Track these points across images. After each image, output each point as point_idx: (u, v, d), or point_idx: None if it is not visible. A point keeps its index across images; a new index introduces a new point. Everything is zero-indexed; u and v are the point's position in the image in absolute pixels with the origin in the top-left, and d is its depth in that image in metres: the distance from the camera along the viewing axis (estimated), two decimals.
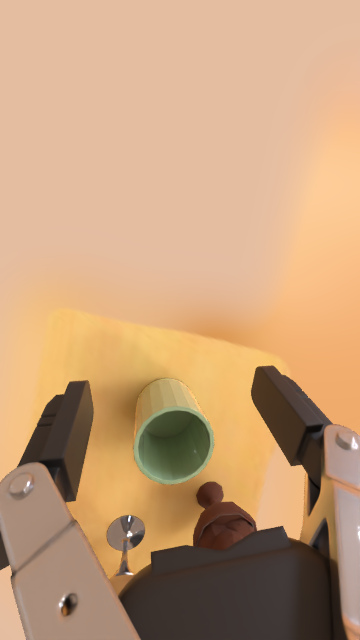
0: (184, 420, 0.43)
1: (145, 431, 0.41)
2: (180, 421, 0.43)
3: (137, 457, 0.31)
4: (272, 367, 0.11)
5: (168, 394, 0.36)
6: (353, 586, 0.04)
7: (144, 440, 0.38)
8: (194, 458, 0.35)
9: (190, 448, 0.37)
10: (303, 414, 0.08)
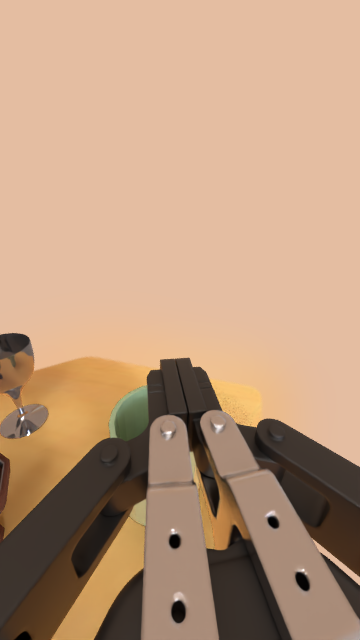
0: None
1: None
2: None
3: None
4: (187, 359, 0.11)
5: None
6: (287, 596, 0.04)
7: (143, 424, 0.34)
8: None
9: None
10: (192, 402, 0.09)
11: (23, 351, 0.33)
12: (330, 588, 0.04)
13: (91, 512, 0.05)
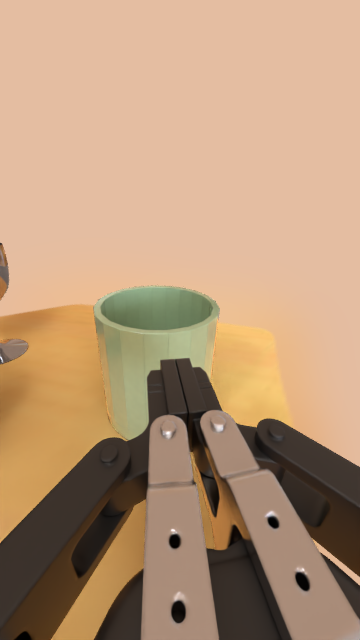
0: None
1: None
2: None
3: (153, 286, 0.26)
4: (187, 359, 0.11)
5: None
6: (287, 596, 0.04)
7: None
8: None
9: None
10: (192, 402, 0.09)
11: None
12: (330, 588, 0.04)
13: (91, 512, 0.05)
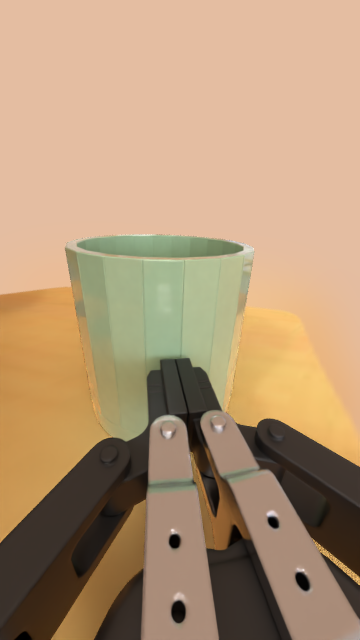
0: None
1: None
2: None
3: None
4: (187, 359, 0.11)
5: None
6: (288, 596, 0.04)
7: None
8: None
9: None
10: (192, 402, 0.09)
11: None
12: (330, 588, 0.04)
13: (91, 512, 0.05)
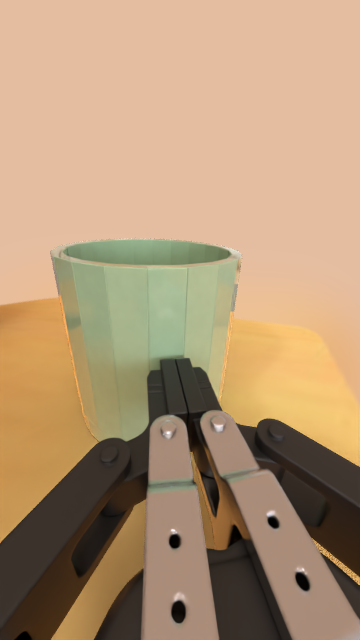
0: None
1: None
2: None
3: (135, 239, 0.19)
4: (187, 359, 0.11)
5: None
6: (287, 596, 0.04)
7: None
8: None
9: None
10: (192, 402, 0.09)
11: None
12: (330, 588, 0.04)
13: (91, 512, 0.05)
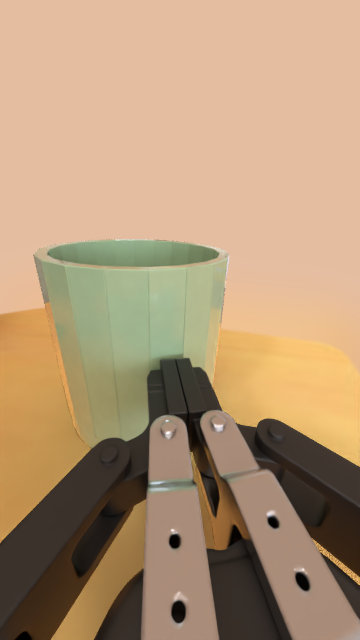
0: None
1: None
2: None
3: (116, 239, 0.19)
4: (187, 359, 0.11)
5: None
6: (287, 596, 0.04)
7: None
8: None
9: None
10: (192, 402, 0.09)
11: None
12: (330, 588, 0.04)
13: (91, 512, 0.05)
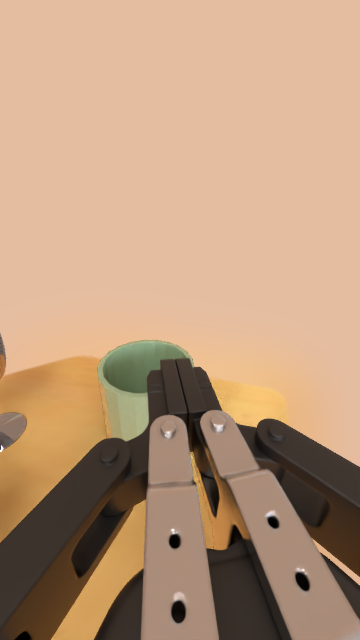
0: None
1: None
2: None
3: (133, 343, 0.32)
4: (187, 359, 0.11)
5: None
6: (287, 596, 0.04)
7: (124, 387, 0.33)
8: None
9: None
10: (192, 402, 0.09)
11: None
12: (330, 588, 0.04)
13: (91, 512, 0.05)
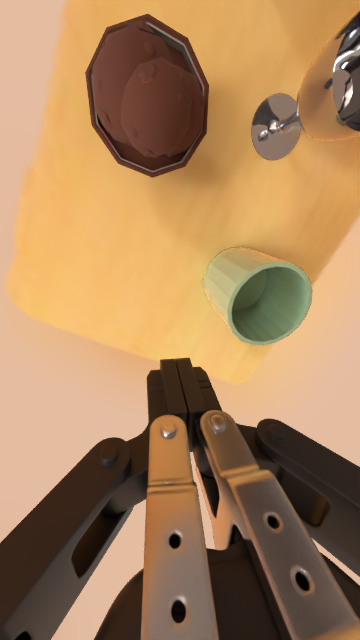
0: None
1: None
2: None
3: (309, 293, 0.29)
4: (187, 359, 0.11)
5: None
6: (287, 596, 0.04)
7: (275, 268, 0.34)
8: None
9: None
10: (192, 402, 0.09)
11: (347, 129, 0.19)
12: (330, 588, 0.04)
13: (91, 512, 0.05)
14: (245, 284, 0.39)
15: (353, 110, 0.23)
